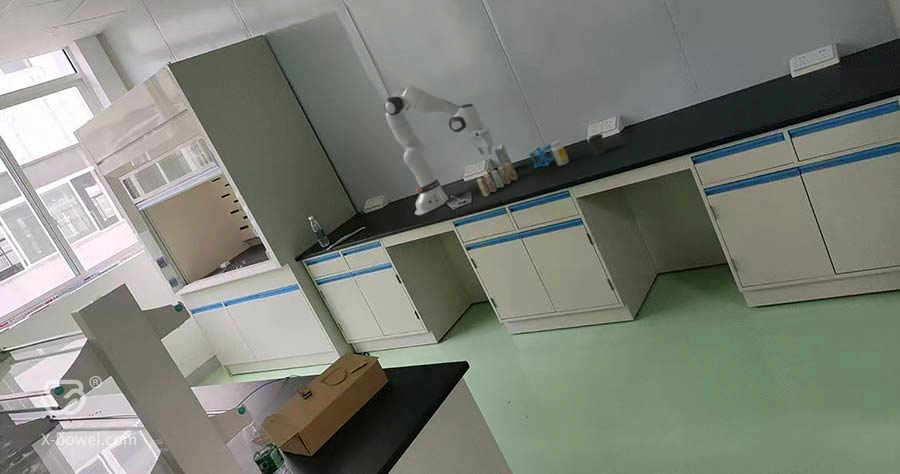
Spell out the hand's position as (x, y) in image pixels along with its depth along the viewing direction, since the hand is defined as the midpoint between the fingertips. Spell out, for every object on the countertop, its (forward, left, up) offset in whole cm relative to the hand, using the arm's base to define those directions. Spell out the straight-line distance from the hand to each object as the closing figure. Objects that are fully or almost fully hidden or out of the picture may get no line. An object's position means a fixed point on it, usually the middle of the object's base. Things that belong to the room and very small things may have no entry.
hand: (486, 154), depth 360 cm
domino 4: (+10, 0, -21) cm, 23 cm away
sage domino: (0, 0, -21) cm, 21 cm away
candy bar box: (+19, +21, -21) cm, 35 cm away
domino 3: (+5, 0, -21) cm, 21 cm away
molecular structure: (+29, -6, -21) cm, 36 cm away
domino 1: (-10, 0, -21) cm, 23 cm away
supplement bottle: (+30, -23, -21) cm, 43 cm away
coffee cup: (+42, -42, -21) cm, 63 cm away
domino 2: (-5, 0, -21) cm, 21 cm away
